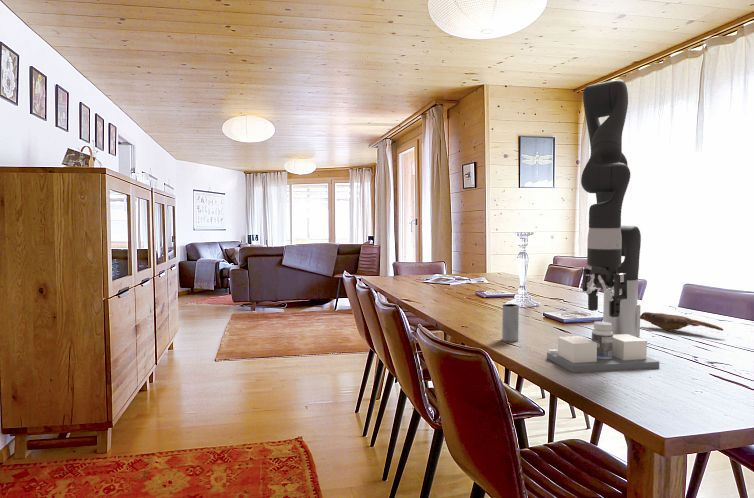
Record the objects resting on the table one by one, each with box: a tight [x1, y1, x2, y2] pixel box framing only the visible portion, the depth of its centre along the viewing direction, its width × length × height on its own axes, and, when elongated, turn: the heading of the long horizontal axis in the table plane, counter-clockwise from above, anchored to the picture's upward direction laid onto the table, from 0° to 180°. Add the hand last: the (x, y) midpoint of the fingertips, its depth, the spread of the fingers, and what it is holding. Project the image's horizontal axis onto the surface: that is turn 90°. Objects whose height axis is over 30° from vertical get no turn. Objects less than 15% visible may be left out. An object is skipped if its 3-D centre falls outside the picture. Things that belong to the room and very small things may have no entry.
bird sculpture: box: [640, 311, 724, 332], centre depth 155 cm, size 7×25×5 cm, turn 41°
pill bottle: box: [591, 320, 613, 359], centre depth 120 cm, size 5×5×8 cm
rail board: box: [546, 334, 660, 373], centre depth 120 cm, size 22×12×6 cm, turn 99°
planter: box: [501, 303, 520, 343], centre depth 144 cm, size 4×4×10 cm
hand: (603, 313), depth 120 cm, fingers open, 8 cm apart
